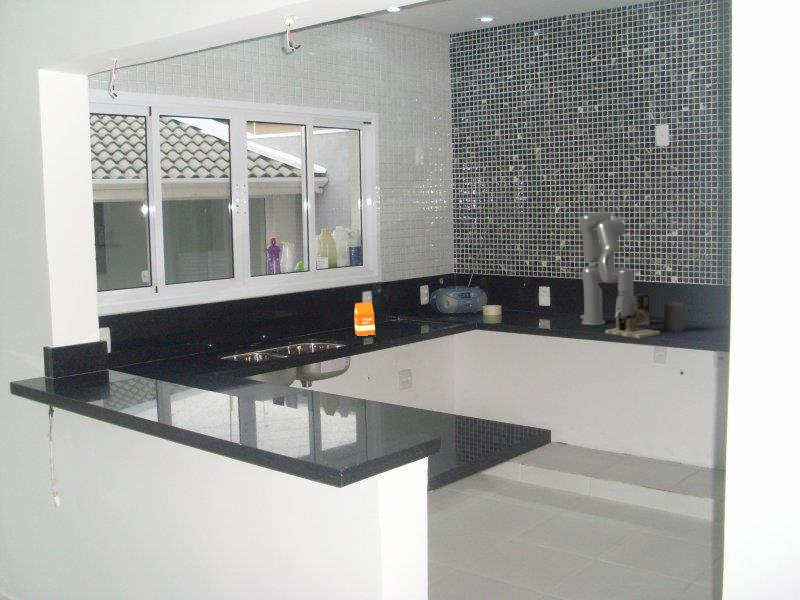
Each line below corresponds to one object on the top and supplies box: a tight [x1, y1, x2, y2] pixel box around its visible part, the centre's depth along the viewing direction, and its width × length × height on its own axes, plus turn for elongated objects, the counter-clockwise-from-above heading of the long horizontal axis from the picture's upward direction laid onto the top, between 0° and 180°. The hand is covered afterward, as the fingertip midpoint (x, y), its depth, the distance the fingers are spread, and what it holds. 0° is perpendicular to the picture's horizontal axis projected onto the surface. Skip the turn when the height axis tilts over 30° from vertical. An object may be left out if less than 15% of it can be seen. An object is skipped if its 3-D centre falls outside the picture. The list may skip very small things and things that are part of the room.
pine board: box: [604, 327, 661, 339], centre depth 437 cm, size 22×15×2 cm
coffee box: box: [633, 292, 650, 326], centre depth 462 cm, size 9×6×16 cm
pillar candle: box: [663, 301, 685, 333], centre depth 440 cm, size 10×10×15 cm
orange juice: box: [353, 301, 376, 336], centre depth 451 cm, size 8×9×20 cm
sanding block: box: [615, 317, 637, 331], centre depth 440 cm, size 9×5×6 cm, turn 34°
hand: (626, 329), depth 440 cm, fingers closed on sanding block, 5 cm apart
